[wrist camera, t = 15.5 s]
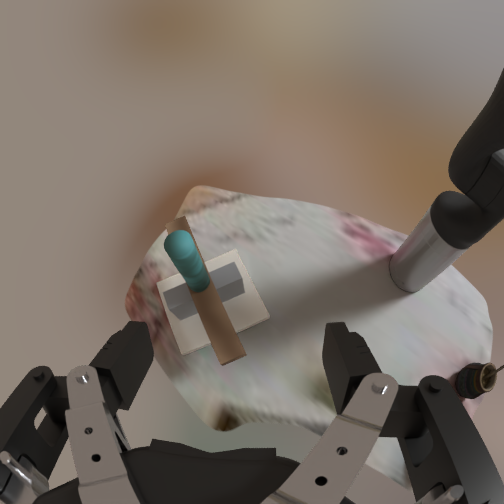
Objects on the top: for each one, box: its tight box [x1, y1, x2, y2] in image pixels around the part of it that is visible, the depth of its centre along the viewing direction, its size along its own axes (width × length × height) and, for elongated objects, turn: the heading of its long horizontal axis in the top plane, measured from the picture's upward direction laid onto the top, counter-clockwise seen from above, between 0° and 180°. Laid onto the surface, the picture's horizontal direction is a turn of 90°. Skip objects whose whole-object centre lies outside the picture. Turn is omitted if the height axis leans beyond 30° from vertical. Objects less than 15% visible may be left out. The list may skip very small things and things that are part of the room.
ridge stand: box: [156, 249, 270, 355], centre depth 44 cm, size 16×14×8 cm
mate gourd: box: [456, 363, 504, 399], centre depth 32 cm, size 7×8×10 cm
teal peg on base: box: [164, 216, 247, 366], centre depth 34 cm, size 4×24×13 cm, turn 25°
